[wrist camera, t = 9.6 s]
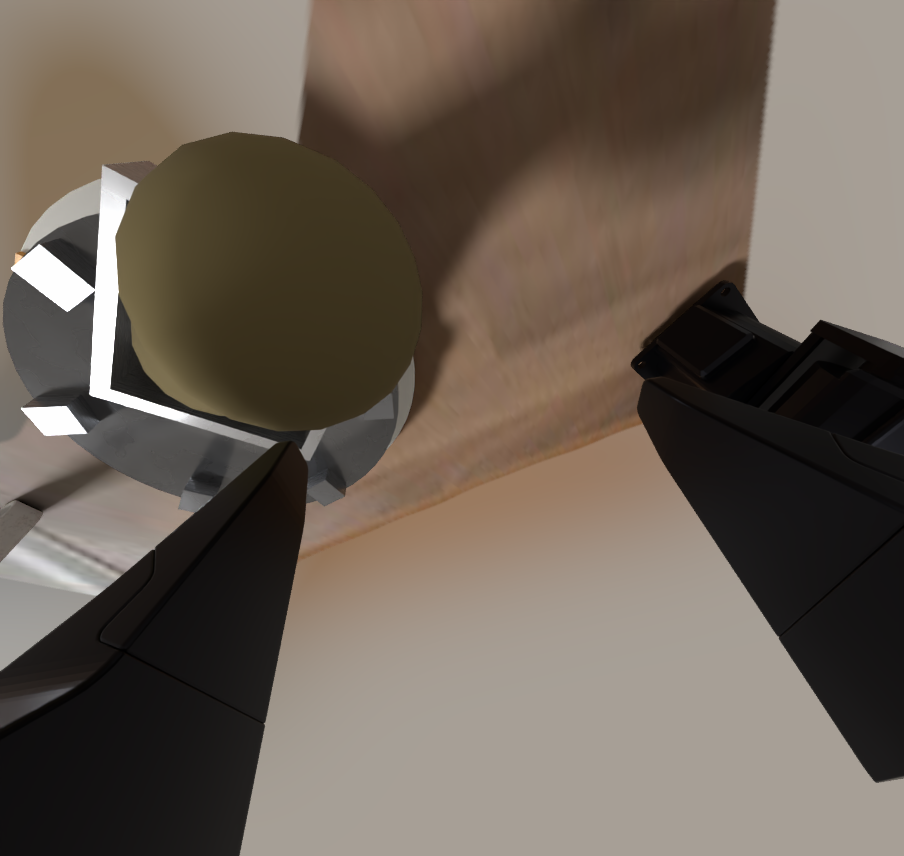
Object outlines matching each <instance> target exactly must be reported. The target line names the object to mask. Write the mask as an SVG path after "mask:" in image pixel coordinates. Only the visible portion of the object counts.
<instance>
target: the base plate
mask: <svg viewBox="0 0 904 856" xmlns="http://www.w3.org/2000/svg"><path fill="white" fill-rule="evenodd" d="M101 180H102V179H98V180H96V181H93V182H91V183H89V184H86V185H84V186H82V187H80V188H78V189H76V190H73V191H71V192H69V193H68V194H67V195H66V196H64V197H63V198H61V199H60V200H59V201H57V202H56V203H55V204H53V205H52V206H51V207H49V208H48V209H47V210H46V212H45V213H44V214H43V215H42V216H41V218H40V219H39V220H38V221H37V222H36V223H35V225H34V226H33V227H32V229H31V231H30V233H29V235H28V237H27V239H26V241H25V243H24V245H23V247H22V249H21V252H18V253H16V255H15V264H17V263H18V262H19V261H20V259H21V258H22V257H23V256H24V255H25V254H26V253H27V252H28V251H29V250H30V249H31V248H32V246H33V245H34V244H35V243H36V242H37V241H39V240H40V239H42V238H43V237H45V236H46V235H48V234H49V233H51V232H52V231H54V230H55V229H57V228H58V227H61V226H63V225H66V224H68V223H71V222H73V221H75V220H78V219H80V218H83V217H86V216H90V215H94V214H97V213H100V199H101ZM414 388H415V367H414V358H413V357H412V361H411V364H410V366H409V367H408V369H407V370H406V372H405V373H404V375H403V376H402V378H401V379H400V381H399V382H398V392H399V402H398V417H397V423H396V428H395V431H394V433H393V436H392V439H391V442H390V444H389V445H388V447H387V449H388V448H389V447H390V445H391V444H392V443H393V441H394V440H395V439H396V437H397V436H398V434H399V433H400V431H401V429H402V427H403V425H404V423H405V422H406V420H407V417H408V414H409V411H410V408H411V405H412V399H413V394H414ZM387 449H386V450H387Z"/></svg>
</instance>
